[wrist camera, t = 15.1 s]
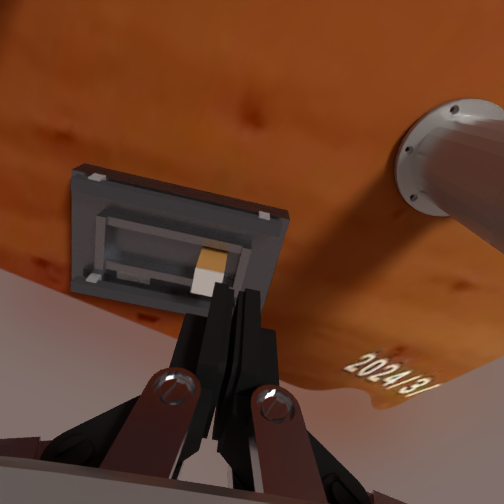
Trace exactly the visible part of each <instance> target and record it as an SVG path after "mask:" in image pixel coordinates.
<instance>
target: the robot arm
mask: <svg viewBox="0 0 504 504" xmlns="http://www.w3.org/2000/svg"><path fill="white" fill-rule="evenodd" d="M451 107H452V111H450V109H451ZM406 147H408V150H407V151H405V149H406ZM394 175H395V182H396V185H397V188H398V191H399V193H400V194H401V196H402V197H403V199H404V200H405V201H406V202H407V203H408V204H409V205H410V206H412V207H413V208H415V209H416V210H418V211H420V212H422V213H424V214H427V215H431V216H441V217H446V216H451V217H452V218H454V219H455V220H457V221H458V222H459V223H461V224H462V225H464V226H465V227H466V228H468V229H469V230H471V231H472V232H473V233H475V234H476V235H478V236H479V237H480V238H482V239H483V240H485V241H486V242H487V243H489V244H490V245H492V246H493V247H494V248H496V249H497V250H499V251H500V252H502V253H503V254H504V110H503V109H502V108H501V107H499V106H498V105H496V104H494V103H491V102H489V101H486V100H480V99H466V98H465V99H458V100H452V101H449V102H447V103H444V104H441V105H439V106H437V107H435V108H434V109H432V110H430V111H429V112H427V113H426V114H425V115H423V116H422V117H421V118H420V119H418V121H417V122H416V123H415V124H414V125H413V126H412V127H411V128H410V129H409V131H408V132H407V134H406V135H405V137H404V138H403V140H402V142H401V144H400V146H399V149H398V151H397V155H396V159H395V166H394ZM411 195H412V197H410V196H411ZM229 287H230V285H229V284H224V283H219V282H215V285H214V289H213V294H212V298H211V303H210V307H209V312H208V317H205V316H200V315H195V314H190V313H186V315H185V318H184V321H183V324H182V328H181V331H180V334H179V337H178V341H177V344H176V347H175V350H174V354H173V357H172V360H171V363H170V366H169V368H165V369H162V370H160V371H158V372H157V373H155V374H154V375H153V376H152V377H151V379H150V380H149V381H148V383H147V385H146V387H145V388H144V390H143V392H142V394H141V395H139V396H137V397H135V398H133V399H131V400H129V401H127V402H125V403H123V404H121V405H119V406H117V407H115V408H113V409H111V410H109V411H107V412H105V413H102V414H101V415H99V416H96V417H94V418H92V419H90V420H88V421H86V422H84V423H82V424H80V425H78V426H76V427H74V428H72V429H70V430H68V431H66V432H64V433H62V434H61V435H59V436H58V437H56V438H54V439H53V440H49V441H41V438H40V437H26V438H25V437H24V438H7V439H0V504H407V503H404V502H402V501H399V500H397V499H394V498H392V497H390V496H387V495H385V494H382V493H380V492H377V491H375V490H373V492H372V493H369V492H366V491H365V489H364V487H363V486H362V485H361V484H360V483H359V482H358V480H357V479H356V478H355V477H354V476H353V475H352V474H351V473H350V472H349V471H348V470H347V469H346V468H345V467H344V466H343V465H342V464H341V463H339V461H338V460H336V458H335V457H334V456H333V455H332V454H331V453H330V452H329V451H327V450H326V448H324V446H323V445H322V444H320V442H319V441H317V439H315V438H314V437H313V436H312V435H311V434H310V433H309V432H308V431H307V429H306V426H305V422H304V419H303V416H302V412H301V409H300V406H299V404H298V402H297V400H296V399H295V397H294V396H293V395H292V394H291V393H290V392H289V391H287V390H286V389H284V388H282V387H280V386H279V374H278V360H277V346H276V333H275V331H274V330H270V329H265V328H261V296H260V291H258V290H253V289H248V288H245V291H244V292H243V291H239V292H238V296H237V300H236V304H235V308H234V311H233V315H232V310H233V301H234V292H235V290H233V289H229ZM215 407H216V411H215ZM214 411H215V419H214V426H213V434H212V435H213V436H212V439H213V440H218V447H217V452H219V453H220V454H221V455H222V457H224V459H225V460H226V462H227V463H228V464H229V465H228V472H227V476H228V488H226V487H219V486H213V485H206V484H200V483H193V482H187V481H180V480H178V479H179V476H180V473H181V470H182V468H183V464H184V460H185V459H187V458H188V457H190V456H191V455H193V454H194V453H196V452H197V451H198V450H199V448H200V444H201V440H202V438H207V436H208V432H209V429H210V425H211V421H212V418H213V414H214Z"/></svg>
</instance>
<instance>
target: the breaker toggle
mask: <svg viewBox="0 0 504 504" xmlns="http://www.w3.org/2000/svg"><path fill="white" fill-rule="evenodd" d="M227 254H228V252H227V251H222V250H217V249H213V248H208V247H204V246H203V247H202V250H201V253H200V256H199V259H198V262H197V265H196V268H195V273H194V278H193V283H192V289H191V293H195V294H200V295H205V296H210V297H212V294H213V289H214V285H215V282H219V283H222V281H223V277H224V271H225V266H226V260H227Z"/></svg>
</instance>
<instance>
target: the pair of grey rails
mask: <svg viewBox="0 0 504 504" xmlns="http://www.w3.org/2000/svg"><path fill="white" fill-rule="evenodd" d="M71 191H75V192H80V193H84V194H88V195H93V196H97V197H102V198H106V199H111V200H115V201H120V202H124V203H129V204H133V205H137V206H142V207H146V208H151V209H155V210H160V211H164V212H169V213H173V214H178V215H182V216H187V217H191V218H195V219H200V220H204V221H209V222H213V223H218V224H222V225H227V226H231V227H236V228H240V229H244V230H249V231H253V232H258V233H262V234H267V235H271V236H276V237H279V236H280V232H281V229H282V226H283V225H282V221H281V220H277V219H272V218H270V213H266V212H262V211H259V213H258V215H255V214H250V213H246V212H242V211H237V210H233V209H228V208H224V207H220V206H215V205H211V204H207V203H202V202H198V201H194V200H189V199H185V198H180V197H176V196H172V195H167V194H163V193H159V192H154V191H150V190H145V189H141V188H137V187H132V186H128V185H124V184H119V183H115V182H111V181H106V176H105V175H101V174H97V173H94V174H92V175H91V176H84V175H80V174H76V175H74V176H72V177H71ZM101 277H102V275H100V274H95V273H91V274H90V275H89V277H88V278H86V277H81V276H76V277H75V278H74V279H73V280H72V281H71V292H76V293H81V294H86V295H91V296H96V297H101V298H106V299H111V300H116V301H121V302H126V303H131V304H136V305H141V306H146V307H151V308H156V309H161V310H166V311H171V312H176V313H181V314H186V313H190V314H195V315H200V316H205V317H208V312H209V307H210V303H209V302H204V301H199V300H194V299H190V298H185V297H180V296H175V295H170V294H165V293H160V292H155V291H150V290H145V289H140V288H135V287H130V286H125V285H120V284H116V283H111V282H106V281H101ZM235 304H236V302H235ZM234 308H235V306H234V307H233V310H232V315H233V311H234Z"/></svg>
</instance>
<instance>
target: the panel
mask: <svg viewBox="0 0 504 504" xmlns="http://www.w3.org/2000/svg"><path fill="white" fill-rule="evenodd" d="M94 173H97V174H101V175H105V176H106V181H111V182H115V183H119V184H124V185H128V186H132V187H137V188H141V189H145V190H150V191H154V192H159V193H163V194H167V195H172V196H176V197H180V198H185V199H189V200H194V201H198V202H202V203H207V204H211V205H215V206H220V207H224V208H228V209H233V210H237V211H242V212H246V213H250V214H255V215H258V213H259V211H262V212H266V213H270V218H272V219H277V220H281V221H282V225H283V226H282V229H281V232H280V236H279V237H276V236H271V235H267V234H262V233H258V232H253V231H249V230H244V229H240V228H236V227H231V226H227V225H222V224H218V223H213V222H209V221H204V220H200V219H195V218H191V217H187V216H182V215H178V214H173V213H169V212H164V211H160V210H155V209H151V208H146V207H142V206H137V205H133V204H129V203H124V202H120V201H115V200H111V199H106V198H102V197H97V196H93V195H88V194H84V193H80V192H75V191H72V280H73V279H74V278H75V277H76V276H81V277H86V278H88V277H89V275H90V274H91V273H95V274H100V275H102V277H101V281H106V282H111V283H116V284H120V285H125V286H130V287H135V288H140V289H145V290H150V291H155V292H160V293H165V294H170V295H175V296H180V297H185V298H190V299H194V300H199V301H204V302H209V303H211V298H212V297H210V296H205V295H200V294H195V293H191V289H192V283H193V278H194V273H195V268H196V265H197V262H198V259H199V256H200V253H201V250H202V247H203V246H204V247H208V248H213V249H217V250H222V251H227V252H228V254H227V260H226V266H225V271H224V277H223V281H222V283H224V284H229V285H230V287H229V289H233V290H235V292H234V301H233V307H234V306H235V302H236V300H237V296H238V292H239V291H243V292H244V291H245V288H248V289H253V290H258V291H260V296H261V312H262V309H263V306H264V302H265V299H266V296H267V293H268V289H269V286H270V283H271V280H272V276H273V273H274V270H275V267H276V263H277V260H278V257H279V254H280V250H281V247H282V244H283V240H284V237H285V234H286V231H287V227H288V224H289V221H290V218H289V214H288V211H287V210H283V209H279V208H274V207H270V206H266V205H261V204H257V203H253V202H248V201H244V200H240V199H235V198H231V197H227V196H223V195H218V194H214V193H210V192H205V191H201V190H197V189H192V188H188V187H184V186H179V185H175V184H171V183H167V182H162V181H158V180H154V179H149V178H145V177H141V176H136V175H132V174H128V173H123V172H119V171H115V170H110V169H106V168H102V167H98V166H93V165H89V164H85V163H84V164H82V165H80V166H78V167H76V168H74V169H72V176H74V175H76V174H80V175H84V176H91V175H92V174H94Z"/></svg>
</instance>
